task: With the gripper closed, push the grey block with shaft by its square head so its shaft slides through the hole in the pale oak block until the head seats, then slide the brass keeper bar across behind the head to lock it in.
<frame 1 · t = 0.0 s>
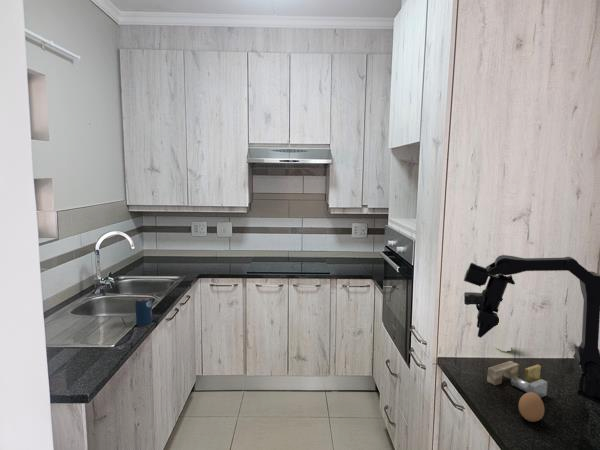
hand: (478, 332, 141), 15 cm above the countertop, tool pointing down, fingers open, 9 cm apart
grey block with shaft: (523, 389, 133), on the countertop
soda can: (144, 324, 184), on the countertop
keeper: (532, 374, 138), point 2 cm above the countertop, slide at 0.0 cm
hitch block: (502, 379, 139), on the countertop
egg: (530, 420, 116), on the countertop
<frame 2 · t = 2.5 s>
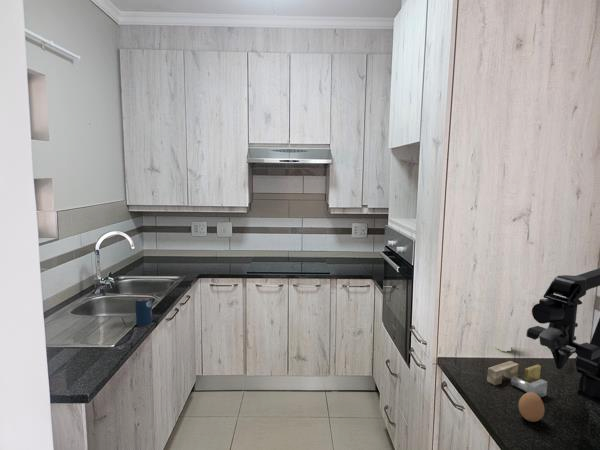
hand: (559, 368, 122), 12 cm above the countertop, tool pointing down, fingers closed
nothing on the countertop moved.
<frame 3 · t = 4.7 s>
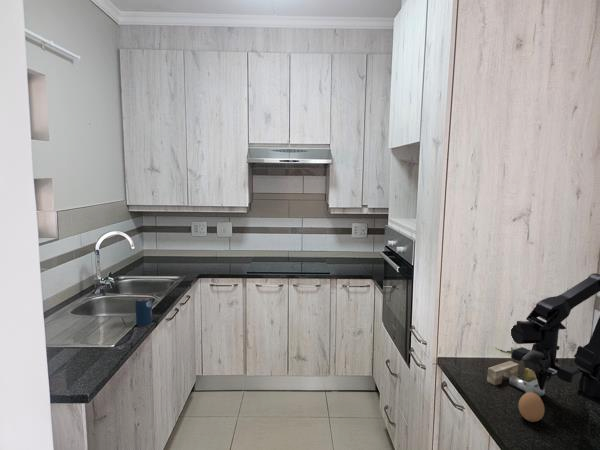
hand: (542, 389, 127), 3 cm above the countertop, tool pointing down, fingers closed
grey block with shaft: (521, 388, 133), on the countertop, touching gripper
everything else where it was.
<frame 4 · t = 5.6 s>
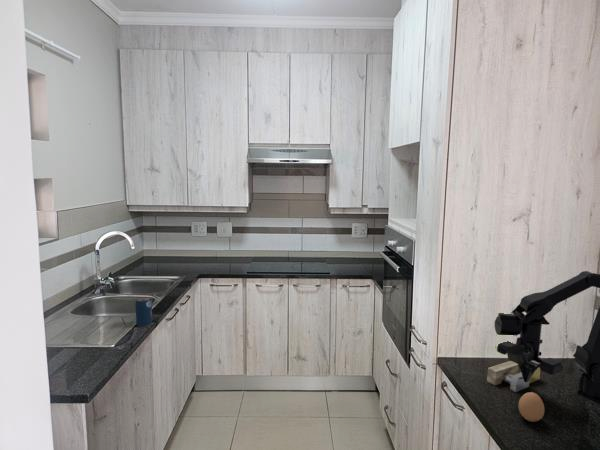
hand: (526, 381, 132), 3 cm above the countertop, tool pointing down, fingers closed
grey block with shaft: (506, 381, 138), on the countertop, touching gripper
everything else where it was.
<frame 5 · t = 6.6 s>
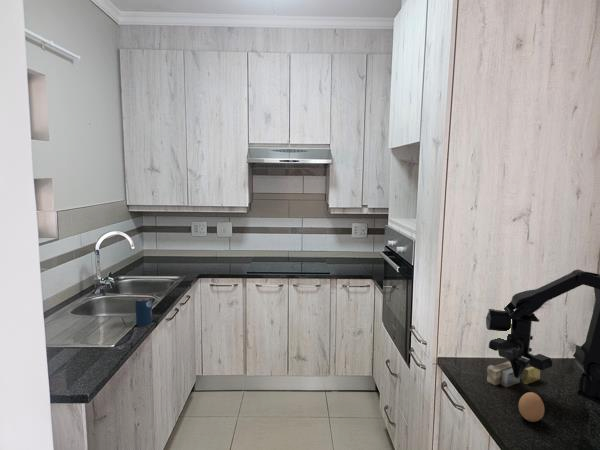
hand: (516, 377, 135), 3 cm above the countertop, tool pointing down, fingers closed
grey block with shaft: (498, 377, 141), on the countertop, touching gripper
everything else where it was.
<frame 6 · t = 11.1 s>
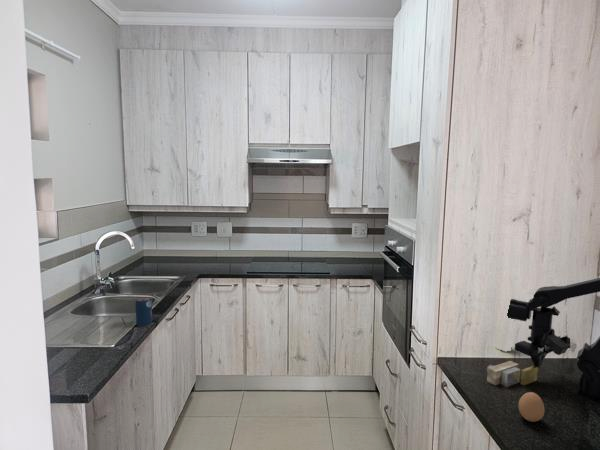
hand: (537, 368, 139), 4 cm above the countertop, tool pointing down, fingers closed
grey block with shaft: (498, 377, 141), on the countertop
keeper: (529, 375, 137), point 2 cm above the countertop, slide at 1.6 cm, touching gripper
everything else where it was.
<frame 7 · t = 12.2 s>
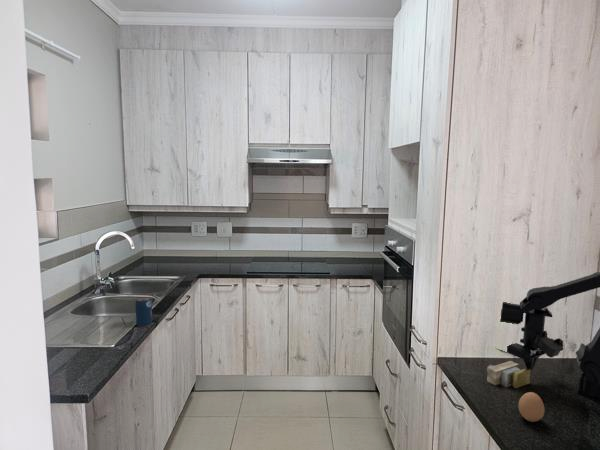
hand: (529, 370, 137), 4 cm above the countertop, tool pointing down, fingers closed
keeper: (521, 377, 135), point 2 cm above the countertop, slide at 5.8 cm, touching gripper
everything else where it was.
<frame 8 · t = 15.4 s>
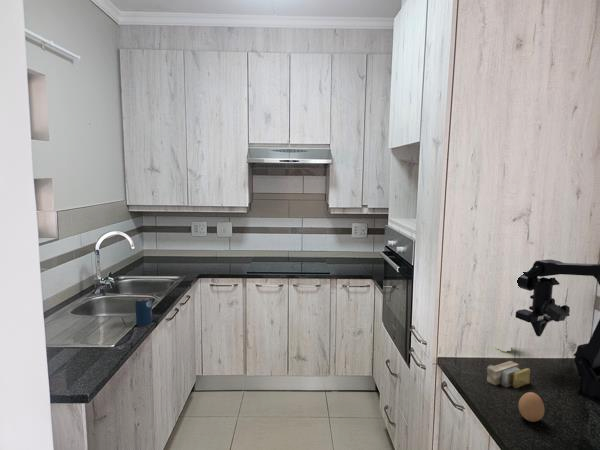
hand: (538, 336, 147), 12 cm above the countertop, tool pointing down, fingers closed
keeper: (521, 377, 135), point 2 cm above the countertop, slide at 5.8 cm
everything else where it was.
at the end: grey block with shaft 0.5 cm from the target spot, on the countertop; keeper slide at 5.8 cm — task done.
